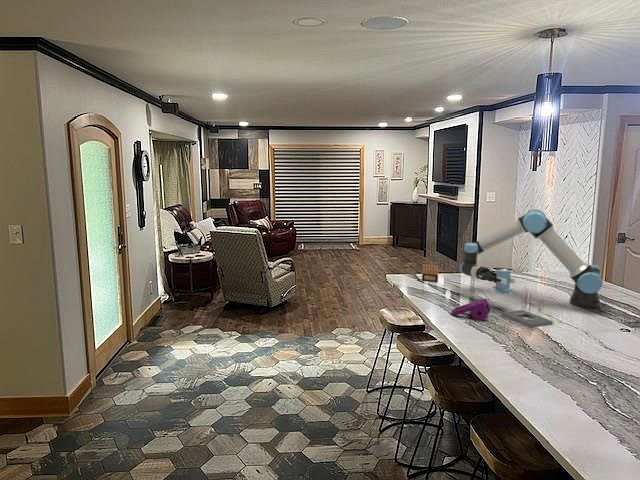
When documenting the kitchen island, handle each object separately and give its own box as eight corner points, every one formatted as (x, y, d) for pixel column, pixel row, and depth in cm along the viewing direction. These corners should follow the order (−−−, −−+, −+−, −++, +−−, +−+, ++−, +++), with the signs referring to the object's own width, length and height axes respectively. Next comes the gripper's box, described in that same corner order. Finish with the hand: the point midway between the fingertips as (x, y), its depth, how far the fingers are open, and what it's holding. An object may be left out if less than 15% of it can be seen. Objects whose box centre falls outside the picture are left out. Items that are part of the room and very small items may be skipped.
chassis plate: (501, 315, 248) (501, 312, 247) (522, 312, 253) (522, 309, 252) (530, 327, 229) (530, 323, 229) (552, 324, 234) (552, 320, 234)
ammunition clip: (438, 281, 320) (438, 264, 318) (437, 282, 318) (438, 264, 316) (422, 280, 324) (422, 263, 322) (421, 280, 322) (422, 263, 320)
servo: (492, 290, 261) (493, 267, 259) (499, 289, 263) (500, 267, 261) (505, 294, 252) (506, 271, 250) (512, 294, 254) (514, 270, 252)
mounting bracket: (455, 328, 245) (489, 318, 237) (449, 312, 246) (483, 302, 237) (459, 322, 253) (492, 313, 245) (453, 308, 254) (486, 298, 245)
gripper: (492, 277, 277) (522, 287, 255) (467, 280, 270) (496, 290, 249) (493, 265, 276) (523, 273, 254) (468, 267, 269) (496, 276, 248)
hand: (510, 281), depth 252 cm, fingers closed on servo, 5 cm apart
